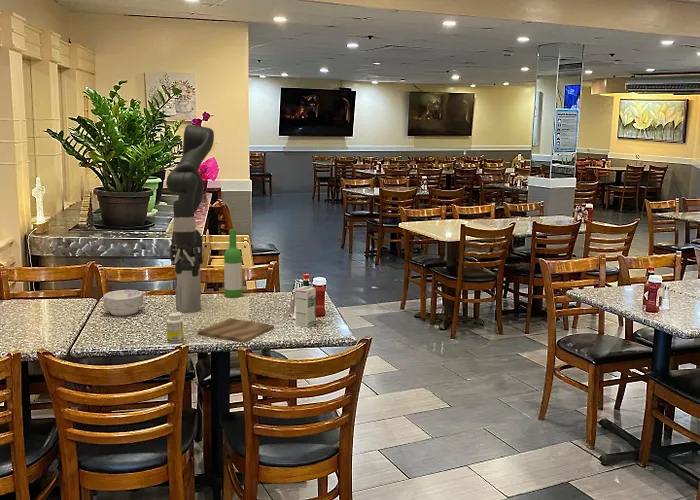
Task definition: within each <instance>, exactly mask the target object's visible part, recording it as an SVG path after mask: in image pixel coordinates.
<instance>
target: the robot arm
mask: <svg viewBox="0 0 700 500" xmlns="http://www.w3.org/2000/svg"><path fill="white" fill-rule="evenodd" d="M214 140H215V131H214V130H213V129H212V128H211V127H207V126H201V125H194V124H188V125H186V126H185V129H184V131H183V143H182V157H181V158H180V161H179V164H178V165H177V166H176V167H175V168H173V169H172V170H171V171H170V172H169V174H168V175H167V178H166V182H165V183H166V184H165V185H166V188H167V189H168V191H170V192H171V193H173V194H174V193H175V194H178V196H177V197H178V199H176V200H174V201H173V204H172V205H173V206H172V207H173V208H172V209H173V230H172V234H171V235H172V236H171V245H170V248H169V249H170V250H169V251H170V252H169V256H170V257H169V258H170V259H169V260H170V262H173V263H174V267H175V268H174V269H175V274H176V281H177V282H176V283H177V284H176V287H175V290H174V292H175V294H174V295H175V310H176V311H178V312H180V313H195V312H199V311H201V310H202V299H201V298H202V294H201V293H202V291H201V288H202V287H201V265H202V264H203V262H204V261H203V251H202V250H203V240H202V239H203V238H202V235H201V233H200V231H199V230H198V229H196V228H197V227H196V226H197V225H196V219H195V217H196V216H195V213H196V211H197V210H198V208H199V207H200V205H201V203H202V200H203V195H204V194H203V193H204V186H205V185H204V184H205V183H204V180H203V178H202V176H201V174H200V172H199V170H200V167H201V164H202V162H203V161H204V160H205V158H206V157H207V156H208V155H209V153H210V152H211V151H212V148H213V145H214Z"/></svg>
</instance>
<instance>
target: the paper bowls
mask: <svg viewBox="0 0 700 500" xmlns="http://www.w3.org/2000/svg"><path fill="white" fill-rule="evenodd" d="M102 299H103V300H102V302H103V308H104V309H105V310H108V311H109V313H110V314H111V315H113V316H119V317H120V316H121V317H123V316H130V315H134V314H136V313H137V312H138V311H139V309H140V307H143V305H144V293H143V292H142V291H141V290H136V289H122V290H121V289H120V290H113V291H110V292H106V293H105V294H103V296H102Z"/></svg>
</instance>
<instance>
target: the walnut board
mask: <svg viewBox="0 0 700 500" xmlns="http://www.w3.org/2000/svg"><path fill="white" fill-rule="evenodd" d="M273 329H275V324H270V323H269V324H267V323H261V322H256V321H249V320H242V319H238V318H231V317H229V318H227V319H224V320H222V321H220V322H216V323H214V324H212V325H210V326H208V327H204V328H202V329H200V330H198V331H197V336H198V335H199V336H202V337H203V336H204V337H208V338H209V337H210V338H215V339H220V340H221V339H222V340H225V341H233V342H237V343H246V342H248V341H251V340H252V339H254V338H255V339H256V338H257V337H259V336H261V335H263V334H266V333H268V332H269V331H271V330H273Z"/></svg>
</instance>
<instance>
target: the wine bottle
mask: <svg viewBox="0 0 700 500" xmlns="http://www.w3.org/2000/svg"><path fill="white" fill-rule="evenodd" d="M228 235H229V237H228V239H229V240H228V241H229V243H228V244H229V247H228V248H227V249H226V250H225V252H224V254H223V255H224V256H223V260H224V262H223V267H224V268H223V270H224V273H223V274H224V277H223V278H224V280H223V281H224V296H225V297H227V298H239V297H242V295H243V257H242V252H241V250H240V248H238V247H237V229H235V228H234V229H233V228H231V229H229V233H228Z"/></svg>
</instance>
